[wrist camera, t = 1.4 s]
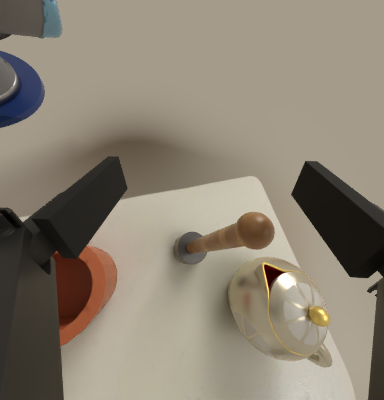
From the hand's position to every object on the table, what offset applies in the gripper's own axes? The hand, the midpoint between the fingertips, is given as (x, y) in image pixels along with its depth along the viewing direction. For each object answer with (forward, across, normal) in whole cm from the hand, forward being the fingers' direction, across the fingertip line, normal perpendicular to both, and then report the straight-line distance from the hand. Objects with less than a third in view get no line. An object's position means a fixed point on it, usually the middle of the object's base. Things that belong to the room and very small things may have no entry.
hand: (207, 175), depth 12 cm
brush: (+10, -3, -22) cm, 24 cm away
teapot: (+5, +10, -30) cm, 32 cm away
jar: (+1, -20, -21) cm, 28 cm away
